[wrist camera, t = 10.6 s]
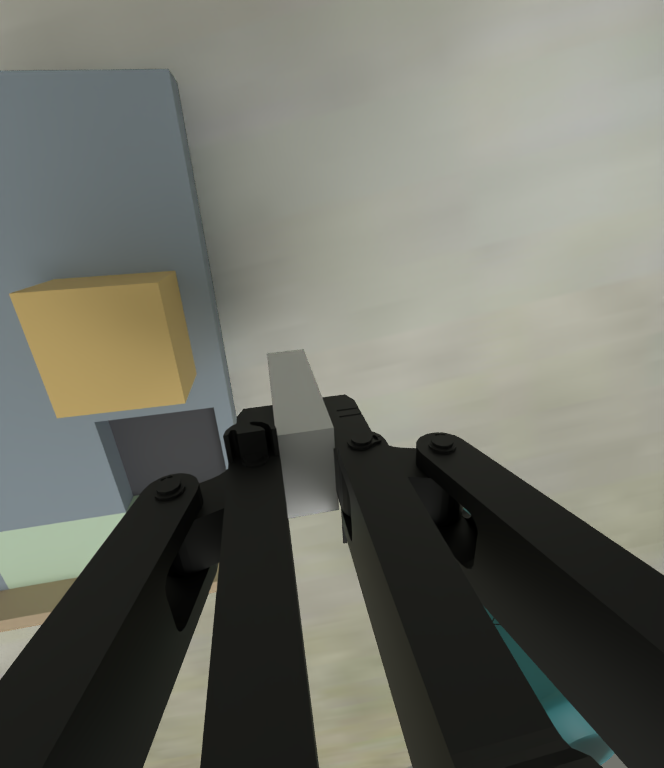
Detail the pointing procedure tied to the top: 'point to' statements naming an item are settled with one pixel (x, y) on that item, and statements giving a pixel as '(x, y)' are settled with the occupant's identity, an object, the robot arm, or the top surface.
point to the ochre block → (108, 341)
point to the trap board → (86, 259)
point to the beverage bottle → (557, 704)
